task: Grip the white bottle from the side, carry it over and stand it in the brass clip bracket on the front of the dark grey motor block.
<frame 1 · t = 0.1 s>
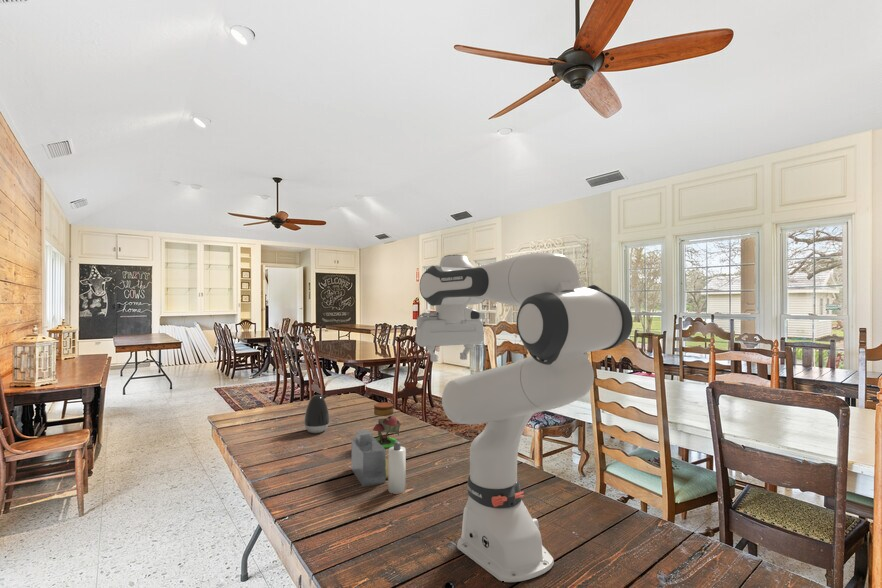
hand: (448, 360, 120), 39 cm above the table, tool pointing down, fingers open, 8 cm apart
white bottle: (396, 489, 124), on the table
mushroom figurine: (385, 444, 162), on the table
motor: (367, 475, 133), on the table
dark grey egg shape: (317, 431, 176), on the table
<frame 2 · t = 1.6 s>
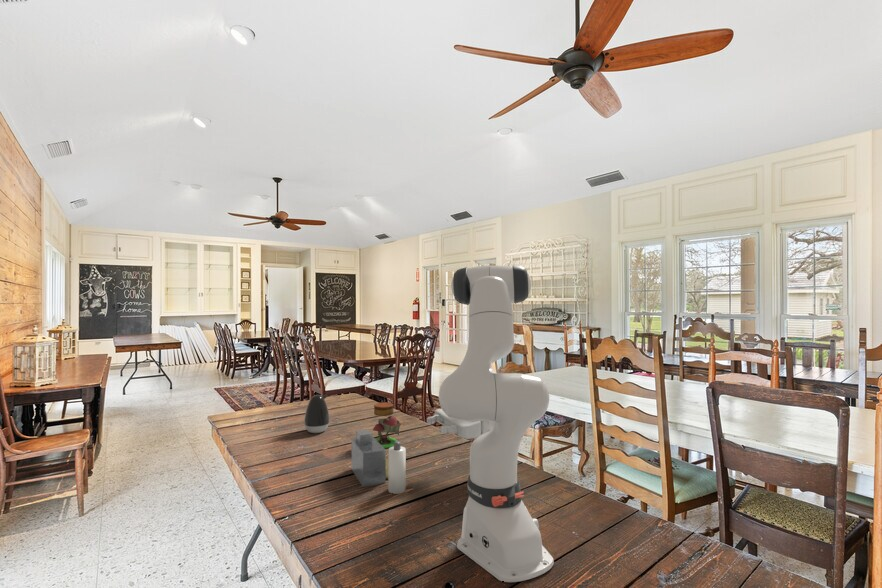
hand: (434, 425, 129), 17 cm above the table, tool horizontal, fingers open, 8 cm apart
nothing on the table moved.
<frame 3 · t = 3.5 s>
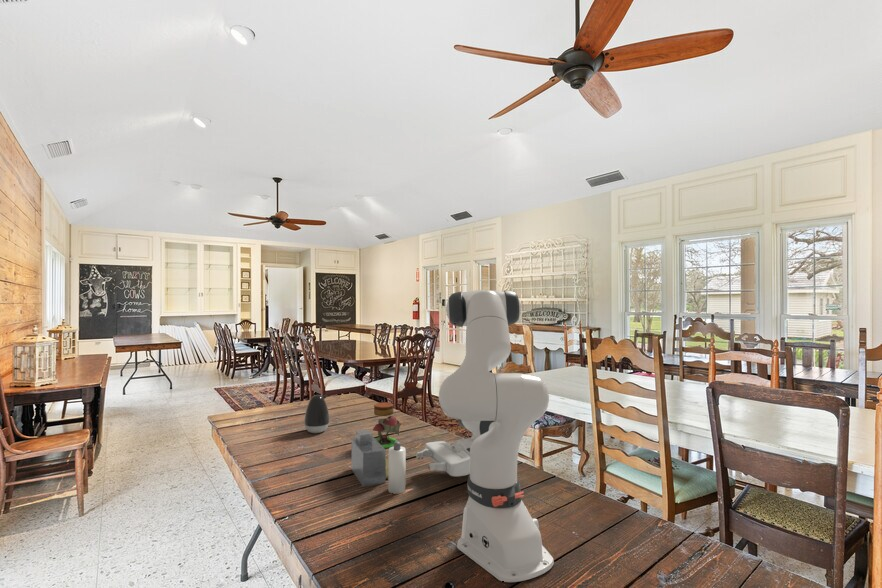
hand: (422, 461, 127), 7 cm above the table, tool horizontal, fingers open, 8 cm apart
nothing on the table moved.
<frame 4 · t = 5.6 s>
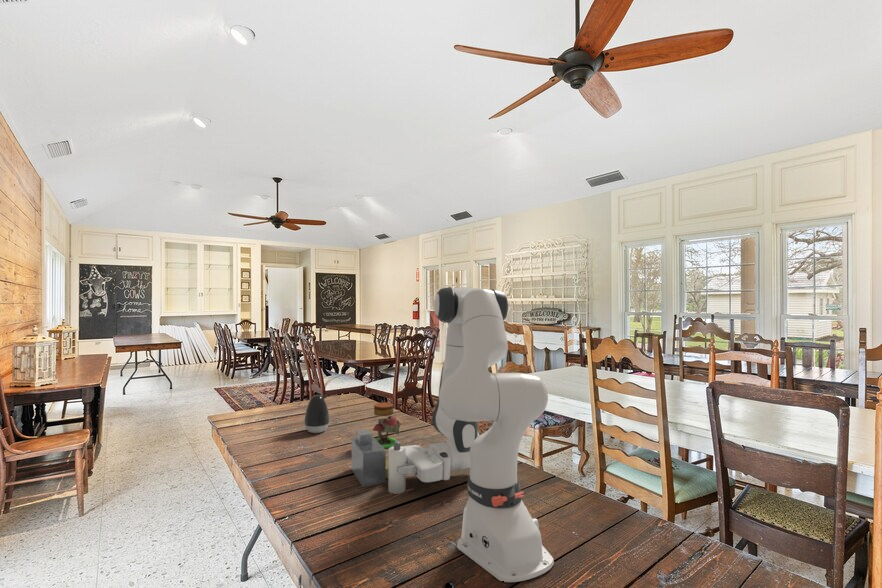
hand: (394, 466, 123), 7 cm above the table, tool horizontal, fingers closed on white bottle, 5 cm apart
white bottle: (396, 489, 124), on the table, touching gripper
everything else where it was.
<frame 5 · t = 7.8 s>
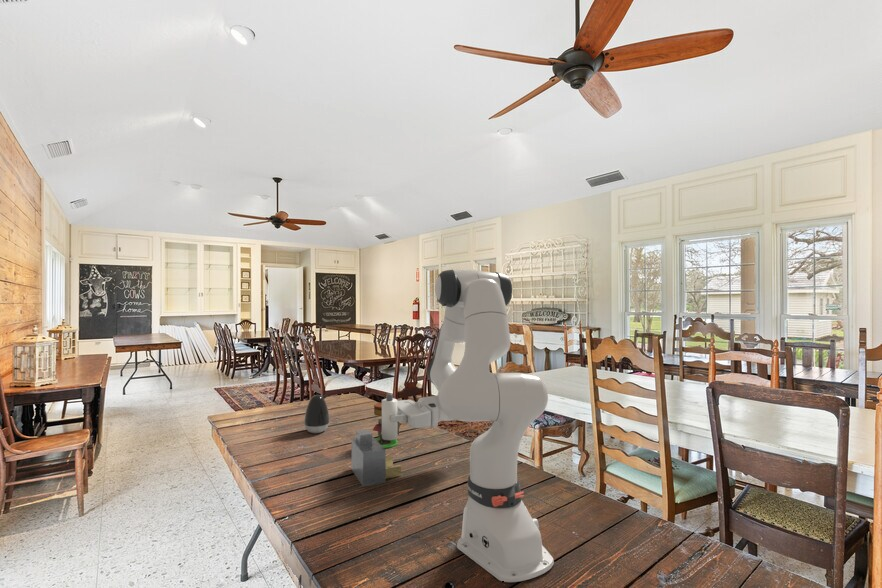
hand: (386, 415, 135), 18 cm above the table, tool horizontal, fingers closed on white bottle, 5 cm apart
white bottle: (389, 437, 136), point 11 cm above the table, touching gripper
everything else where it was.
when the fingers open (8 cm above the table, at t = 10.2 s): white bottle drops 1 cm, on the table.
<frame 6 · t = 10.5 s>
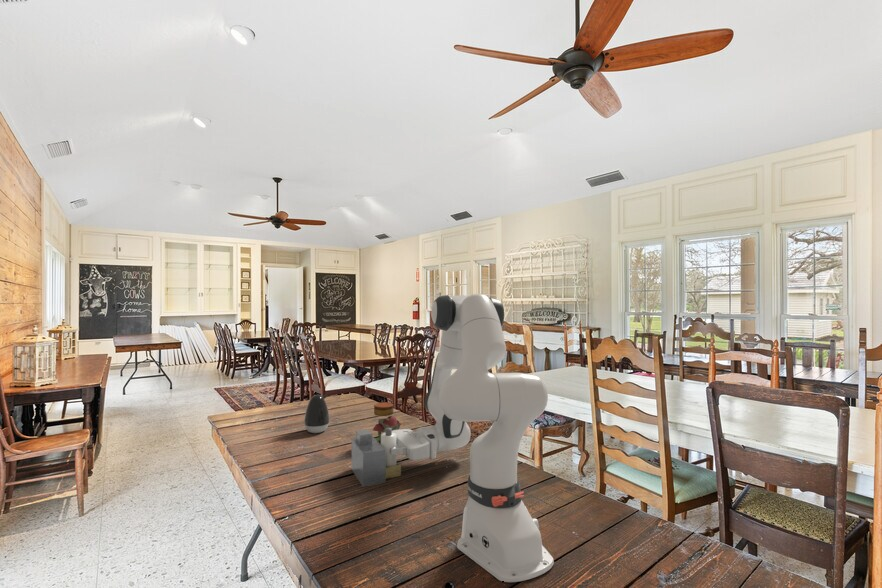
hand: (385, 447, 136), 8 cm above the table, tool horizontal, fingers open, 7 cm apart
white bottle: (388, 471, 136), on the table
everything else where it was.
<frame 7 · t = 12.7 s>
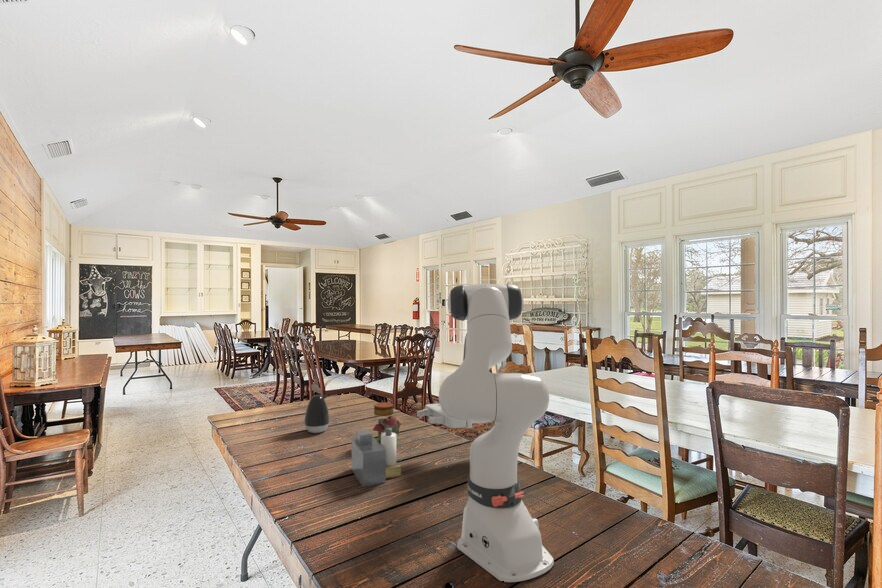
hand: (423, 417, 141), 16 cm above the table, tool horizontal, fingers open, 8 cm apart
nothing on the table moved.
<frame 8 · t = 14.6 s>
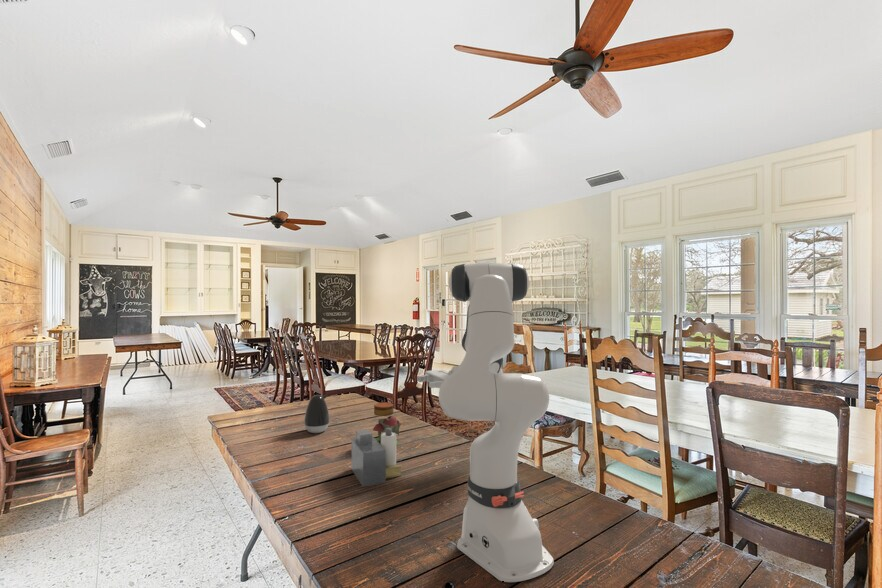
hand: (423, 382, 142), 28 cm above the table, tool horizontal, fingers open, 8 cm apart
nothing on the table moved.
at the end: white bottle 0.3 cm from the target spot on the motor, point 0.0 cm above the motor's base; white bottle tilted 0°; the gripper is holding nothing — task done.
